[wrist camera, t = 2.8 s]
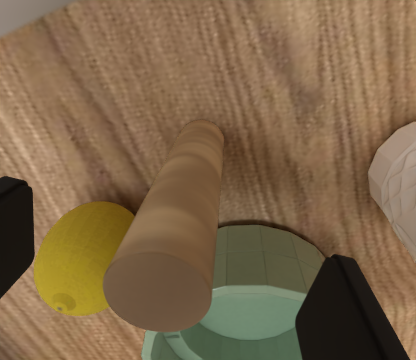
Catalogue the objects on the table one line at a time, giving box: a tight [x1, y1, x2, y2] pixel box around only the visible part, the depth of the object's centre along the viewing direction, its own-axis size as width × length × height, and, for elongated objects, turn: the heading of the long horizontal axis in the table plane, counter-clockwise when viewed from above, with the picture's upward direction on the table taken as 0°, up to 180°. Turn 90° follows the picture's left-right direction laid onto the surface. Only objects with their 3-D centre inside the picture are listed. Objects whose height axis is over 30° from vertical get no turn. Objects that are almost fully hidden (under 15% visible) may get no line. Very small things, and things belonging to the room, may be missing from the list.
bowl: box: [141, 225, 326, 360], centre depth 21 cm, size 13×13×6 cm
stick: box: [103, 120, 224, 332], centre depth 13 cm, size 3×3×12 cm
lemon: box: [34, 201, 135, 316], centre depth 18 cm, size 6×6×8 cm
